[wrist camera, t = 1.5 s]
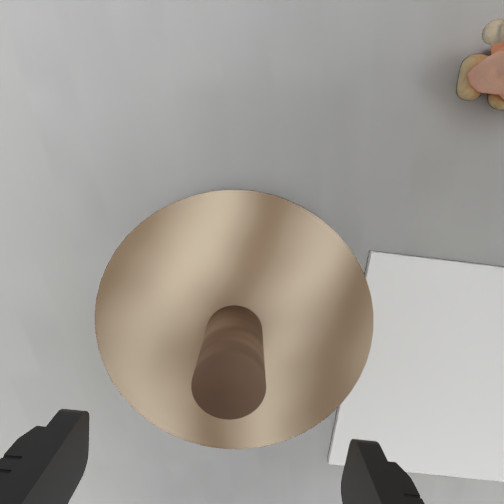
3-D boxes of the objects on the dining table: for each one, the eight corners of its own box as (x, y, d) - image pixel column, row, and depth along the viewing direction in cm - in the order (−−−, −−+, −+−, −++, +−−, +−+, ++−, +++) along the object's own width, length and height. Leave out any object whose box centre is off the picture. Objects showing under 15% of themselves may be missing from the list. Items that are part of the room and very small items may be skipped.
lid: (392, 208, 18) (459, 224, 12) (341, 448, 22) (375, 550, 16) (106, 172, 18) (35, 173, 12) (99, 423, 21) (41, 518, 15)
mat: (611, 279, 26) (616, 281, 25) (536, 481, 30) (540, 485, 29) (369, 250, 25) (371, 251, 25) (327, 460, 29) (328, 463, 29)
